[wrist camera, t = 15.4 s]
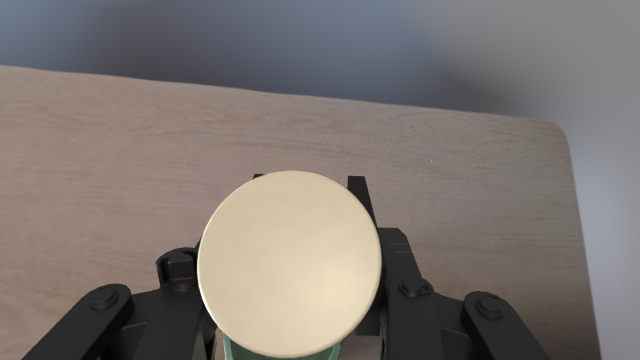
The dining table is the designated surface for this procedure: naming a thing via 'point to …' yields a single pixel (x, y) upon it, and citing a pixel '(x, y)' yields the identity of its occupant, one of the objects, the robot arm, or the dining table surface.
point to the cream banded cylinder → (289, 264)
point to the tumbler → (239, 356)
